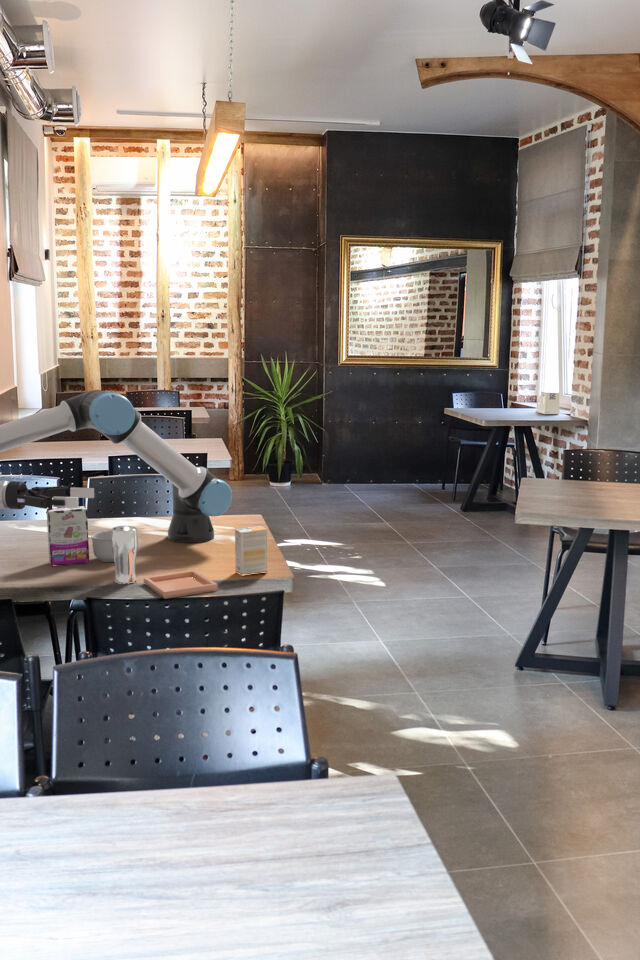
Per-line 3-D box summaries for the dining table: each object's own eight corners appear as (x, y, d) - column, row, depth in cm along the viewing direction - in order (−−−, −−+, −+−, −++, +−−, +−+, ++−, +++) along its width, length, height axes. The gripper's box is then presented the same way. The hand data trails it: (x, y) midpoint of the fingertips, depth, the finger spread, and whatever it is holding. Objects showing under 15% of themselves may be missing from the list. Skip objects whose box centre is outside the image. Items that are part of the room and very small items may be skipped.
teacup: (120, 565, 263) (119, 539, 262) (85, 563, 265) (84, 536, 264) (139, 553, 276) (138, 528, 275) (106, 551, 278) (105, 526, 277)
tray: (194, 576, 253) (194, 570, 253) (217, 590, 240) (217, 584, 240) (143, 583, 245) (143, 577, 245) (164, 598, 233) (164, 592, 232)
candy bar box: (86, 559, 269) (85, 505, 266) (89, 563, 265) (88, 508, 262) (48, 562, 265) (46, 507, 262) (50, 566, 260) (48, 511, 257)
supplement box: (261, 569, 261) (261, 525, 259) (267, 573, 257) (268, 529, 255) (234, 572, 258) (234, 528, 255) (240, 577, 253) (240, 531, 251)
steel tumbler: (116, 586, 243) (114, 532, 240) (109, 579, 249) (108, 526, 246) (141, 583, 246) (140, 529, 243) (134, 576, 252) (133, 524, 249)
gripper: (27, 499, 257) (100, 502, 256) (-10, 518, 233) (71, 521, 232) (26, 473, 256) (99, 476, 255) (-11, 489, 232) (70, 492, 230)
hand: (86, 497), depth 243 cm, fingers open, 13 cm apart
